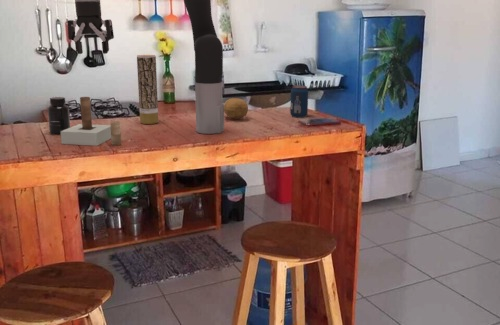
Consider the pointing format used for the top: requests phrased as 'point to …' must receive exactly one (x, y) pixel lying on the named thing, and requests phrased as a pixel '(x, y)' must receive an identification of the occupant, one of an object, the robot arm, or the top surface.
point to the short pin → (115, 133)
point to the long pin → (86, 113)
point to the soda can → (299, 101)
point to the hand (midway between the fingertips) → (92, 53)
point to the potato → (235, 108)
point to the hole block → (86, 135)
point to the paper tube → (147, 88)
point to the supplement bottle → (58, 115)
